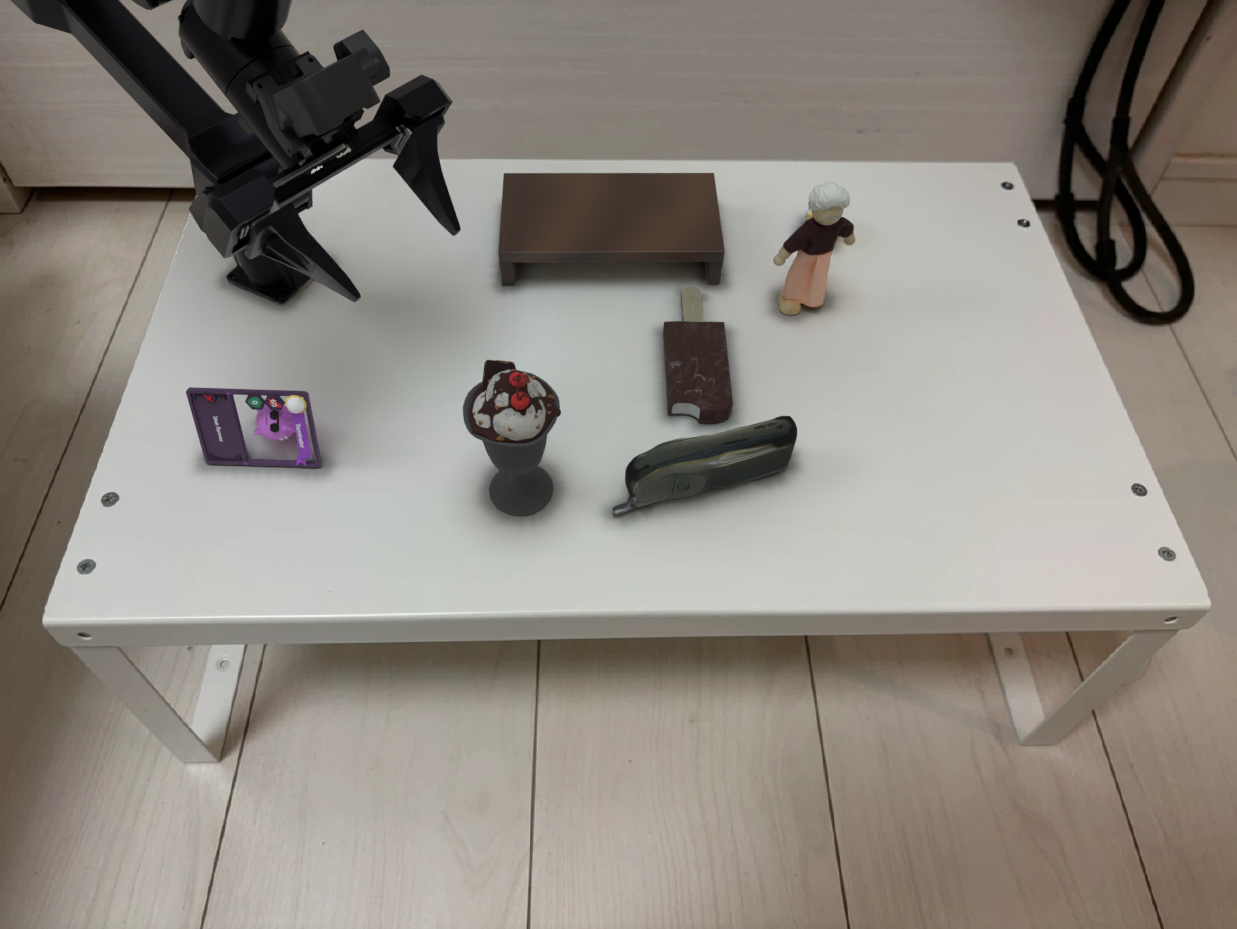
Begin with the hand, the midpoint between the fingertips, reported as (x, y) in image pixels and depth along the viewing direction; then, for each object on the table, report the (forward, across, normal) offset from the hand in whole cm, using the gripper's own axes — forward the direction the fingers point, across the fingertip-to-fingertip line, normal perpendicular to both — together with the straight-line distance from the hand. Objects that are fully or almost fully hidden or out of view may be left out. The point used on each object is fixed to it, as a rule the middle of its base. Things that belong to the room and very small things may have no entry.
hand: (409, 265), depth 65 cm
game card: (+4, -12, +15) cm, 20 cm away
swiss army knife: (+26, +8, -1) cm, 27 cm away
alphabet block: (+18, +38, +4) cm, 43 cm away
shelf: (+7, +23, +12) cm, 27 cm away
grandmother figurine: (+22, +30, +2) cm, 37 cm away
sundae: (+18, -2, +5) cm, 19 cm away
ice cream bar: (+19, +18, +4) cm, 26 cm away
